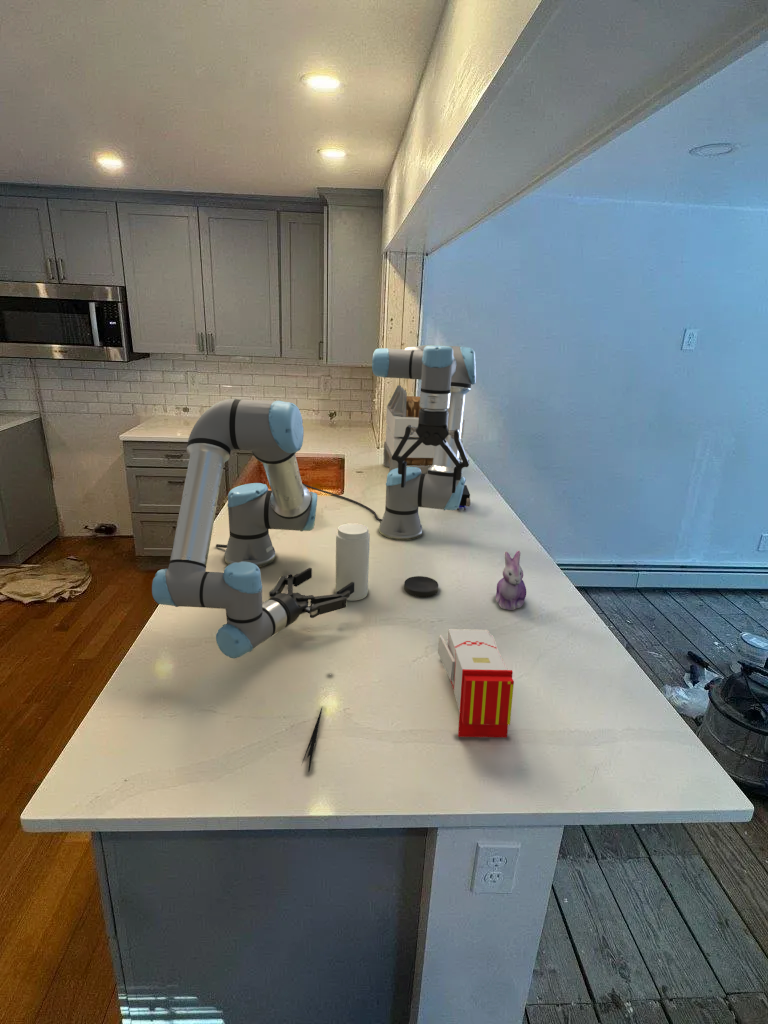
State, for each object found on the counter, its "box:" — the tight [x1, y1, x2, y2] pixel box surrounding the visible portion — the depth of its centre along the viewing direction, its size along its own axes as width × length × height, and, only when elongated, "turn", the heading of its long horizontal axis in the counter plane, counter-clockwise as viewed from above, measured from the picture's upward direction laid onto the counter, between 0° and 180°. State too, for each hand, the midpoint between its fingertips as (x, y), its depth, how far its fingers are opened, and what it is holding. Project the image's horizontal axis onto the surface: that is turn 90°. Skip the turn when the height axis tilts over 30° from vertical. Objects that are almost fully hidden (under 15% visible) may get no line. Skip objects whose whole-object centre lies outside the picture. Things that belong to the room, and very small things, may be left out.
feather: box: [301, 673, 332, 771], centre depth 108 cm, size 2×28×2 cm
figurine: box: [495, 550, 527, 611], centre depth 153 cm, size 9×10×15 cm
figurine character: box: [456, 484, 471, 512], centre depth 229 cm, size 7×8×15 cm
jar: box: [334, 522, 371, 601], centre depth 154 cm, size 9×9×19 cm
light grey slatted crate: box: [383, 384, 465, 472], centre depth 268 cm, size 34×33×41 cm
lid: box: [403, 575, 439, 599], centre depth 161 cm, size 10×10×2 cm
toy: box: [437, 628, 515, 738], centre depth 117 cm, size 12×13×30 cm
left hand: (331, 579), depth 147 cm, fingers open, 13 cm apart
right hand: (428, 488), depth 151 cm, fingers open, 13 cm apart
